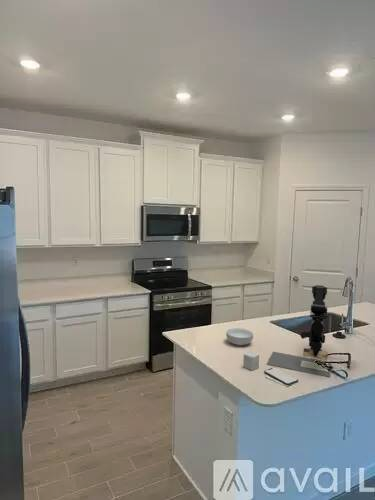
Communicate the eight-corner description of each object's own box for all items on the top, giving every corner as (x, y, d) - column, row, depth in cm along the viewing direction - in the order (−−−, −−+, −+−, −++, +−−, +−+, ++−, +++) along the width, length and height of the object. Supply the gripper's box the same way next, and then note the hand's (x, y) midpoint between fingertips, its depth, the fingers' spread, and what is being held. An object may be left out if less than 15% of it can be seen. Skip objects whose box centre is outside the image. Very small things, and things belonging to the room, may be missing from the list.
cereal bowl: (224, 346, 211) (224, 335, 210) (227, 337, 227) (227, 327, 226) (252, 349, 207) (252, 338, 206) (253, 340, 223) (253, 329, 222)
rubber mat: (272, 352, 203) (272, 351, 203) (331, 362, 190) (331, 361, 190) (266, 364, 186) (266, 363, 186) (330, 377, 173) (330, 376, 173)
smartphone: (299, 382, 168) (274, 369, 181) (299, 379, 168) (274, 366, 181) (287, 387, 163) (262, 373, 177) (287, 384, 163) (263, 370, 176)
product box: (259, 367, 183) (259, 354, 182) (252, 371, 178) (253, 357, 178) (249, 363, 187) (250, 351, 186) (242, 367, 183) (243, 353, 182)
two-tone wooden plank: (327, 356, 184) (327, 352, 184) (326, 360, 180) (327, 355, 180) (304, 352, 189) (304, 348, 189) (303, 355, 185) (303, 351, 184)
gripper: (303, 319, 195) (301, 346, 196) (299, 329, 178) (297, 358, 179) (324, 322, 190) (322, 349, 192) (322, 332, 173) (320, 362, 175)
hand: (315, 354), depth 184 cm, fingers closed on two-tone wooden plank, 5 cm apart
